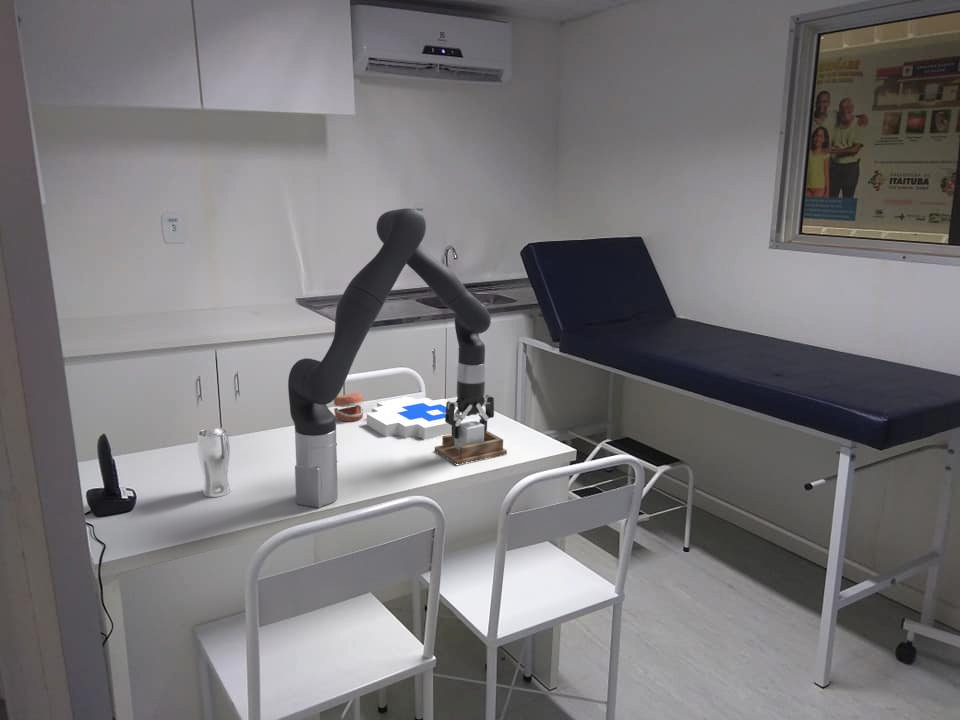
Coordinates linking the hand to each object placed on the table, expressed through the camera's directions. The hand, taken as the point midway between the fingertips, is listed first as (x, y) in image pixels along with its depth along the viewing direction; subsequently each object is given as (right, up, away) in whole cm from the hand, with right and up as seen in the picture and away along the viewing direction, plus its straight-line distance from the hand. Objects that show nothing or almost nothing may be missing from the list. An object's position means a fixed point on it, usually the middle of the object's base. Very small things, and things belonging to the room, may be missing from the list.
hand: (469, 435), depth 200 cm
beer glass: (-60, -11, -27) cm, 66 cm away
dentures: (-37, +2, +27) cm, 45 cm away
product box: (0, -4, +1) cm, 4 cm away
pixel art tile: (-17, +1, +25) cm, 30 cm away
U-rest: (0, -5, +2) cm, 5 cm away
